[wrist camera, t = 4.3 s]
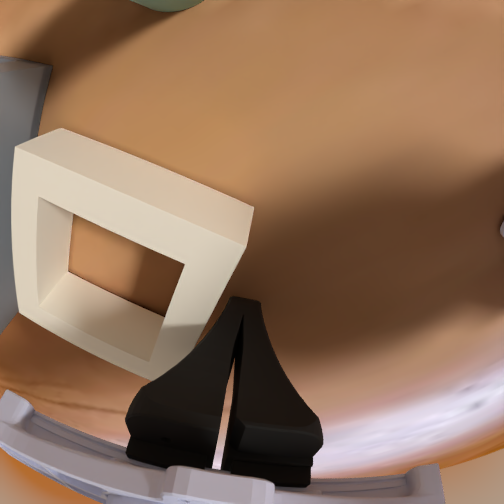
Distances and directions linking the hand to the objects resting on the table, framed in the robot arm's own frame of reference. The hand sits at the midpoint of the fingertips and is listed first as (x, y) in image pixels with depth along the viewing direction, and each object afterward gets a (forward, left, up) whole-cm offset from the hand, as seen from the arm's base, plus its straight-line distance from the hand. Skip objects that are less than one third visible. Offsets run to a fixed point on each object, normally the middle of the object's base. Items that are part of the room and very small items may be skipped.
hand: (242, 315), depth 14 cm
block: (+6, 0, -1) cm, 6 cm away
